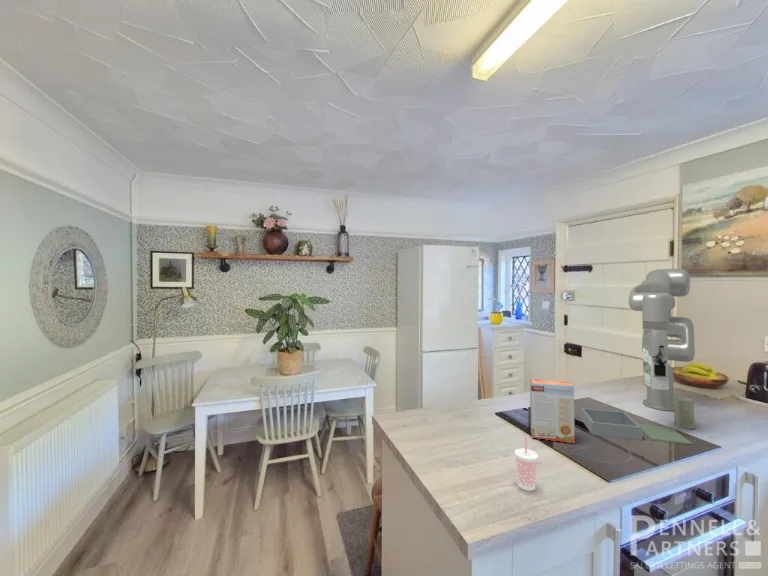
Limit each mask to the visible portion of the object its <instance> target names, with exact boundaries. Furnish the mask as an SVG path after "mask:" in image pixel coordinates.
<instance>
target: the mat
mask: <svg viewBox="0 0 768 576" xmlns="http://www.w3.org/2000/svg"><path fill="white" fill-rule="evenodd" d="M638 424H639V425H640V426H641V427H642V434H644V435H645V437H647V438H648V439H649V440H650V441H656V442H664V443H671V444H679V443H680V445H688V444H692V445H693V443H692V441H691V440H688V439H687V438H686V437H685V436H684V435H682V434H681V433H679V432H678V431H677V430H675V429H674V428H673V427H671V426H666V425H665V426H664V425H655V424H654V425H652V424H644V423H638Z"/></svg>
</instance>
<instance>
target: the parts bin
mask: <svg viewBox="0 0 768 576" xmlns="http://www.w3.org/2000/svg"><path fill="white" fill-rule="evenodd" d="M581 419H582V420H581ZM580 420H581V421H582V423H583V424H584V425H585V427H586V428H587V430H588V431H589V433H590V434H591V435H593V436H603V437H611V438H621V439H626V440H627V439H629V440H636V441H637V440H638V441H643V432H642V427H641V426H640V425H639V424H640V423H638V422H636V421H635V420H634V419H633V418H632V417H631V416H630V415H629V414H627V413H626V412H625V411H619V410H618V411H617V410H610V409H609V410H607V409H598V408H597V409H596V408H588V407H587V408H586V407H580ZM593 420H594V421H593Z"/></svg>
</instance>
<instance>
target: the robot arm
mask: <svg viewBox="0 0 768 576" xmlns="http://www.w3.org/2000/svg"><path fill="white" fill-rule="evenodd" d="M690 288H691V278H690V274H689V273H688V271H687V270H686V269H684V268H662V269H660V268H659V269H653V270H651V271H649V272H648V273H647V274H646V277H645V280H643V281H642V282H641V283H640V284H638V285H635V286H634V287H633V288H632V289H631V290H630V292H629V296H628V306H629V308H630V309H631V310H632V311H638V312H641V313H642V319H641V320H642V330H643V331H642V337H641V338H642V339H641V352H642V353H643V348H644V349H645V350H647V351H648V355H649V356H651V357H654V356H655V363H656V364H654V374H655V375H656V376H666V360H667V356H668V361H672V362H673V361H674V362H675V361H676V362H684V363H685V362H687V363H688V362H689V363H690V362H692V361H694V359H695V353H696V352H695V351H696V349H695V329H694V328H695V326H694V323H693V321H692V320H691V319H690V318H688V317H683V316H673V315H672V310H673V309H674V308H675V307H676V298H675V297H680V298H681V297H687V296H688V294H689V293H690V290H691V289H690ZM670 338H678V339H670ZM657 355H661V356H657ZM658 358H660V359H659V360H658ZM668 378H669V390H657V389H651V388H649V387H647V386H646V399H643V400H642V404H643V405H644V406H646V407H649V408H652V409H656V410H661V411H668V412H670V411H671V412H674V397H675V396H674V369H673V368H672V366H671V364H669V363H668Z"/></svg>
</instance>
